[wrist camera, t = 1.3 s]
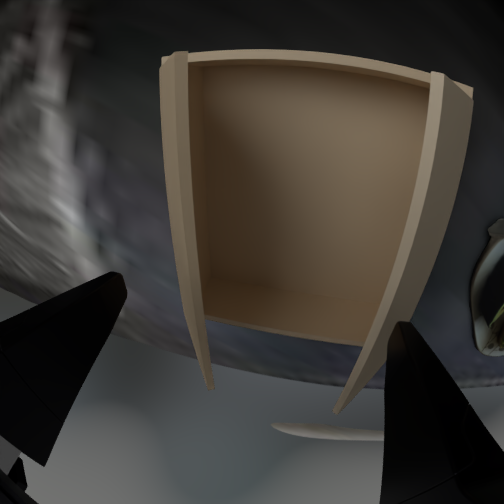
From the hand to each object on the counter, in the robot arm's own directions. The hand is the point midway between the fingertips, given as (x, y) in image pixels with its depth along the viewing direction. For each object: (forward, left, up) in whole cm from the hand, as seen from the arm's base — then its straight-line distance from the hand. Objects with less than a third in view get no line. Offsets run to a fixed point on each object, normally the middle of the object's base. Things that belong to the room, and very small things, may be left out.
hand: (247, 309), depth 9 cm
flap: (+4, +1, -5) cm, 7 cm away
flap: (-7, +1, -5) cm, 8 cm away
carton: (-1, +1, -13) cm, 13 cm away
